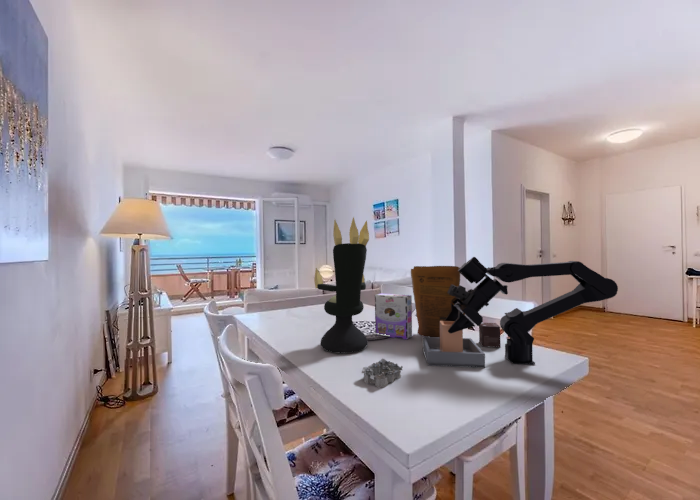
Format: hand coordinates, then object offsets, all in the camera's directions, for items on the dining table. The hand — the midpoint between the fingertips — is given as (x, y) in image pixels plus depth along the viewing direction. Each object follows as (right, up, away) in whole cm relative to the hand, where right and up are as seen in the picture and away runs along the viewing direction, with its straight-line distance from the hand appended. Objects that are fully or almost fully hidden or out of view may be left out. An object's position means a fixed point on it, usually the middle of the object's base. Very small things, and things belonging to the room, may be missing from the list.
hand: (446, 328), depth 99 cm
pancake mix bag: (+3, -9, +23) cm, 25 cm away
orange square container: (+1, -8, 0) cm, 8 cm away
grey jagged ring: (-22, -10, -16) cm, 29 cm away
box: (+19, -9, +13) cm, 25 cm away
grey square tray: (+1, -9, 0) cm, 9 cm away
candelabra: (-32, -10, +9) cm, 34 cm away
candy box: (-13, -9, +25) cm, 30 cm away
